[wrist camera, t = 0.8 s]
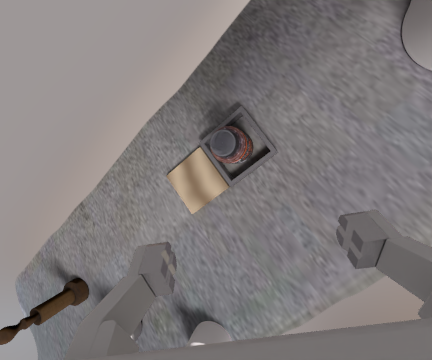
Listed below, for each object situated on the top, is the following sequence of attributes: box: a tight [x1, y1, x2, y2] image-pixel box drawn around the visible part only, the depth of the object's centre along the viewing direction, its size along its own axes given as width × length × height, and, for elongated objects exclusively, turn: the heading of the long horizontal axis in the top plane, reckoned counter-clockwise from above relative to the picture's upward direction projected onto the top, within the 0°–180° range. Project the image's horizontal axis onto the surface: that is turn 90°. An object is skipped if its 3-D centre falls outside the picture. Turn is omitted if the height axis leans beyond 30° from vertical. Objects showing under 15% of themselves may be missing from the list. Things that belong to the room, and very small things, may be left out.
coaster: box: [166, 147, 230, 214], centre depth 45 cm, size 10×10×1 cm
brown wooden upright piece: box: [0, 278, 89, 345], centre depth 51 cm, size 7×6×18 cm
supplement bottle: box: [210, 126, 253, 163], centre depth 37 cm, size 6×6×11 cm
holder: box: [199, 106, 278, 187], centre depth 41 cm, size 11×11×2 cm
